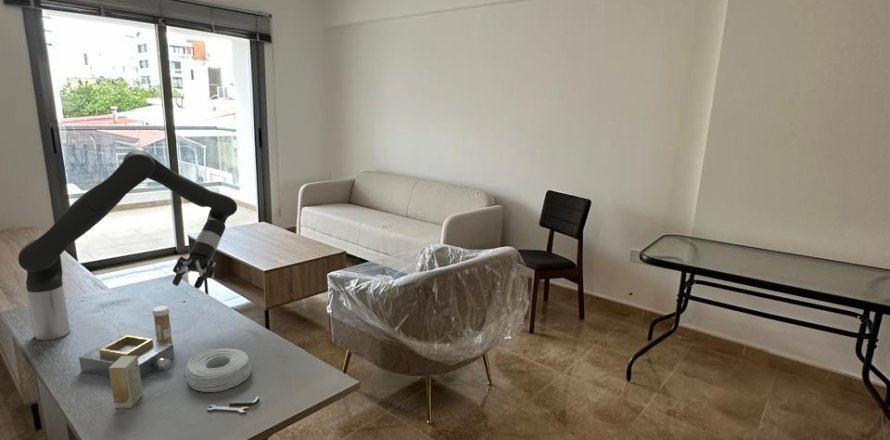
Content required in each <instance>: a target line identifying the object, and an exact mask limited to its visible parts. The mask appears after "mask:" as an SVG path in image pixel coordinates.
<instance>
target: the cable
mask: <svg viewBox="0 0 890 440" xmlns="http://www.w3.org/2000/svg"><path fill="white" fill-rule="evenodd" d="M248 356H249V355H247V354H246V353H245V352H244V351H242V350H239V349H235V348H227V347H225V348H224V347H223V348H211V349H207V350H203V351H201V352H199V353H196V354H195V355H193V356H192V357H191V358H190V359H189V360H188V361H187V364H186V366H185V370H183V375H184V377H185V380H186V382H187V383H188V386H190V387H191V388H192V389H194V390H195V391H199V392H205V393H209V392H211V393H216V392H217V393H218V392H222V391H225V390H229V389H231V388H234V387H236V386H238V385H240V384H241V383H243V382H244V381H246V380H247V379H249V377H250V375H251V373H252V365H251V363H250V360H249V357H248Z"/></svg>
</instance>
